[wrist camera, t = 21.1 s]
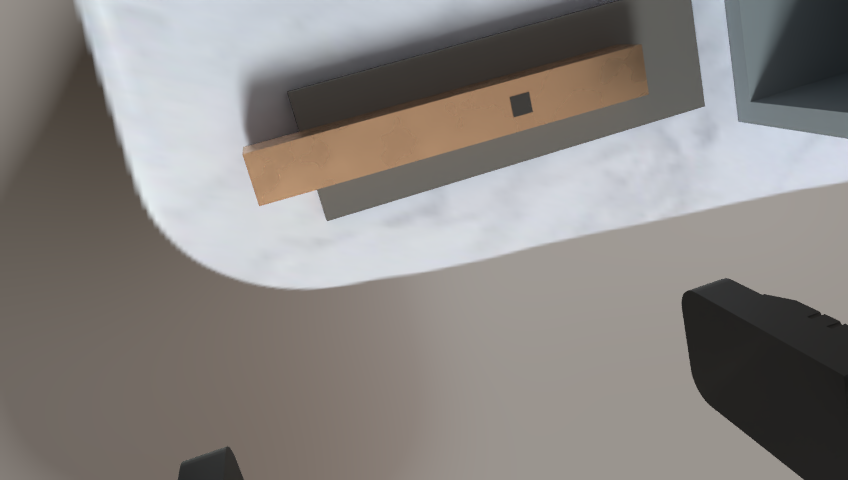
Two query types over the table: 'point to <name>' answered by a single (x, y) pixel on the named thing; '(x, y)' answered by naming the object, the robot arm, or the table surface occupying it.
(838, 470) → the robot arm
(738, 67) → the tall grey-blue box
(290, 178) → the wooden plank with hole
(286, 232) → the table surface
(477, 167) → the rubber mat
